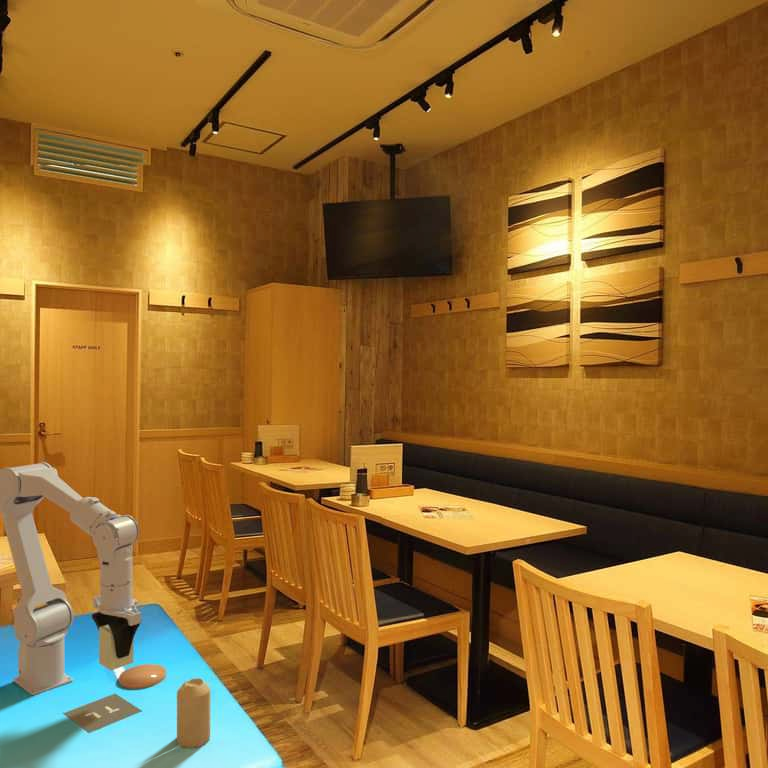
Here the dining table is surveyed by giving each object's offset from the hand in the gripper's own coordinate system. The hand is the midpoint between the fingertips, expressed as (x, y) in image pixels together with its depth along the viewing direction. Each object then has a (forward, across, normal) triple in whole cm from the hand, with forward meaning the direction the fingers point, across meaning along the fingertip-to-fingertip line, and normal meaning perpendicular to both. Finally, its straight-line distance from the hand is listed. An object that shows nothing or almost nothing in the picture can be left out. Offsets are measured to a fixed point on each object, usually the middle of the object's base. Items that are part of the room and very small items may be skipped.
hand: (116, 652), depth 128 cm
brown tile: (+9, -2, +4) cm, 10 cm away
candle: (+10, -22, -2) cm, 24 cm away
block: (+2, 0, 0) cm, 2 cm away
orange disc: (+9, +5, -8) cm, 13 cm away
